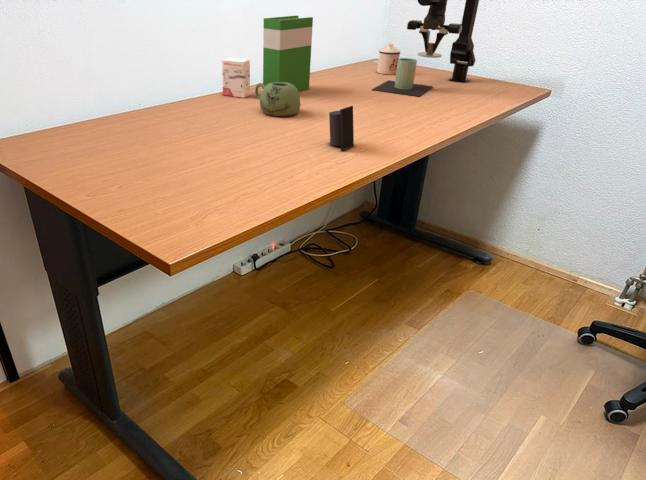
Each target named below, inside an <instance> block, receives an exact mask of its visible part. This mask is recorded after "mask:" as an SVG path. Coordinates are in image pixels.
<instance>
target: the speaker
mask: <svg viewBox="0 0 646 480" xmlns="http://www.w3.org/2000/svg"><path fill="white" fill-rule="evenodd" d="M328 115H329V116H328V117H329V121H328V122H329V144H330V146H333V147H340V151H341V152H344V151H346V150H349V149H351V148H354V146H355V139H354V137H355V136H354V134H355V133H354V105H349V106H347V107H343V108H341V109H339V110H334V111H330V112H329V113H328Z"/></svg>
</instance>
